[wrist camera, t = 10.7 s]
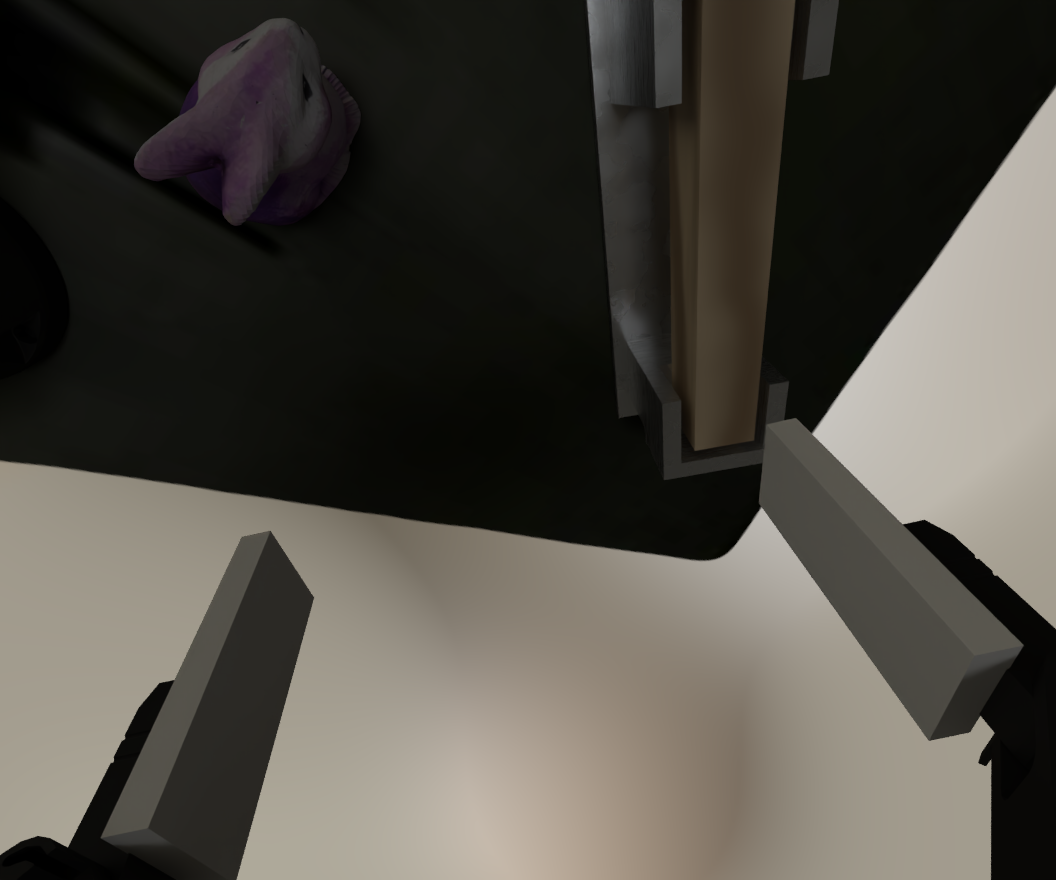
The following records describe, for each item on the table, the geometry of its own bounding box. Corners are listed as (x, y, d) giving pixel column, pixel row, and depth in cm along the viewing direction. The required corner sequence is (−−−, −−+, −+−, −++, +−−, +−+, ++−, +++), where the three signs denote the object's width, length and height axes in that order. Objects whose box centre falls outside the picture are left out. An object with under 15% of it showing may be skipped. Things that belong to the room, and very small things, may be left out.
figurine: (367, 44, 31) (292, 13, 19) (365, 225, 36) (306, 296, 24) (194, 5, 29) (-16, -56, 17) (218, 201, 35) (74, 263, 22)
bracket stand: (616, 412, 46) (650, 491, 37) (580, -40, 30) (625, -97, 20) (729, 391, 46) (791, 466, 37) (758, -76, 29) (883, -150, 20)
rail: (672, 413, 40) (694, 450, 36) (667, 6, 26) (702, -9, 22) (725, 403, 40) (753, 440, 35) (747, -10, 26) (797, -28, 22)
